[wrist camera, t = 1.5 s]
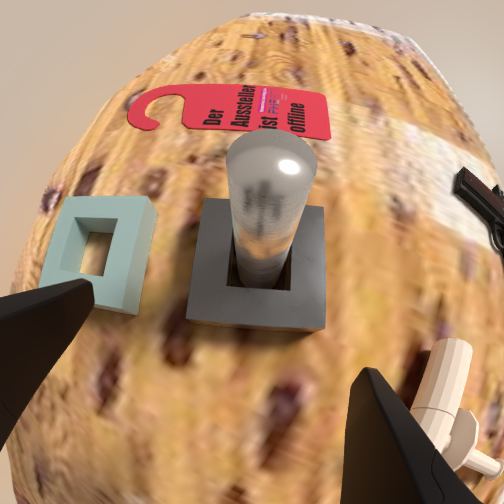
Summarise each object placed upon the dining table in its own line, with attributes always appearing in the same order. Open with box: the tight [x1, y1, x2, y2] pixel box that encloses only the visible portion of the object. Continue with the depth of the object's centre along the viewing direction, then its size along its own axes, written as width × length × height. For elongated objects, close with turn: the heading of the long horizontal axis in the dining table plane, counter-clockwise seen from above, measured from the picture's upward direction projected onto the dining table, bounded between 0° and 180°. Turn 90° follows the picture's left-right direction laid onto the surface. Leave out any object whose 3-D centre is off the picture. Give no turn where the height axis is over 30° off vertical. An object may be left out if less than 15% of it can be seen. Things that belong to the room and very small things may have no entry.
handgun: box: [454, 167, 504, 257], centre depth 22 cm, size 2×17×12 cm
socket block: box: [186, 198, 326, 332], centre depth 20 cm, size 9×9×3 cm
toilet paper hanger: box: [410, 338, 504, 481], centre depth 13 cm, size 21×11×7 cm, turn 53°
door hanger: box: [128, 84, 331, 140], centre depth 29 cm, size 9×1×25 cm
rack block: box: [38, 196, 158, 316], centre depth 20 cm, size 9×9×3 cm
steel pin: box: [226, 129, 317, 289], centre depth 15 cm, size 3×3×13 cm
